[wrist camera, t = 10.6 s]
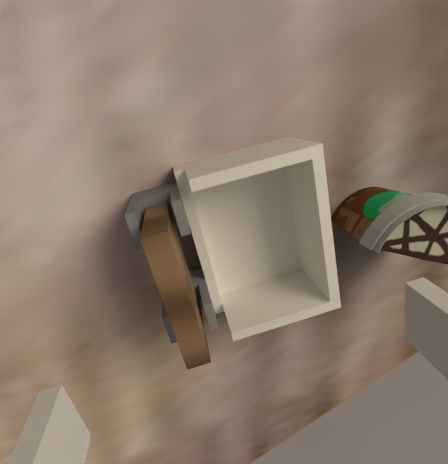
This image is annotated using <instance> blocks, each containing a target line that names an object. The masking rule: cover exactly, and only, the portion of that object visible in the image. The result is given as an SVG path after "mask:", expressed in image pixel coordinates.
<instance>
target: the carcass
mask: <svg viewBox="0 0 448 464" xmlns="http://www.w3.org/2000/svg"><path fill="white" fill-rule="evenodd" d="M173 171H174V175H175V178H176V182H174V183H171V184H167V185H163V186H160V187H156V188H152V189H149V190H145V191H141V192H137V193H134V194H132V197H131V199H130V202H129V204H128V207H127V209H126V212H125V214H124V217H125V220H126V223H127V225H128V228H129V231H130V233H131V236H132V239H133V241H134V244H135V247H136V249H140V248H143V247H142V244H141V241H140V236H141V231H142V226H143V221H144V216H145V210H146V208H147V207H150V206H154V205H158V204H161V203H165V202H168V206H169V209H170V212H171V215H172V218H173V221H174V223H176V222H177V224H178V227H179V230H180V234H181V237H182V236H185V235H189V234H191V233H190V229H191V232H192V236H193V239H194V242H195V246H196V249H197V253H198V256H199V259H200V263H201V266H202V267H200V268H196V269H193V270H189V272H190V276H191V279H192V282H193V285H194V288H195V292H196V295H197V298H198V301H199V304H200V307H201V309H203V308H204V311H205V314H206V317H207V321H208V324H209V327H210V330H211V331H213V330H217V329H219V327H218V323H217V319H216V315H215V314H218V313H221V312H225V315H226V318H227V321H228V325H229V328H230V331H231V335H232V338H233V341H236V340H239V339H242V338H246V337H249V336H252V335H255V334H258V333H261V332H265V331H268V330H271V329H274V328H277V327H281V326H284V325H287V324H290V323H293V322H296V321H300V320H303V319H306V318H309V317H312V316H315V315H319V314H322V313H325V312H328V311H331V310H334V309H338V308H341V302H340V294H339V285H338V276H337V267H336V258H335V249H334V241H333V232H332V223H331V214H330V205H329V196H328V188H327V179H326V170H325V161H324V152H323V143H317V142H312V141H306V140H301V139H296V138H290V137H284V138H281V139H277V140H273V141H269V142H266V143H262V144H258V145H255V146H251V147H247V148H243V149H240V150H236V151H232V152H228V153H225V154H221V155H217V156H213V157H210V158H206V159H202V160H198V161H195V162H191V163H187V164H183V165H180V166H176V167H173ZM188 222H189V224H188ZM189 226H190V228H189ZM214 310H215V311H214ZM162 319H163V321H164V324H165V327H166V329H167V332H168V335H169V337H170V340H171V343H175V342H177V340H176V337H175V334H174V331H173V329H172V326H171V323H170V321H169V318H168V315H167V312H166V310H165V307H164V304H163V301H162Z"/></svg>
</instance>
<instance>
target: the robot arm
mask: <svg viewBox="0 0 448 464" xmlns="http://www.w3.org/2000/svg"><path fill="white" fill-rule="evenodd" d="M405 339H406V340H407V341H408V342H409V343H410V344H411V345H412V346H413V347H414V348H415V349H417V350H418V351H419V352H420V353H421V354H422V355H423V356H424V357H425V358H426V359H427V360H428V361H429V362H430V363H431V364H432V365H433V366H434V367H435V368H436V369H437V370H438V371H439V372H440V373H441V374H442V375H443V376H445V378H446V379H447V380H448V293H446V292H445V291H443V290H442V289H440V288H439V287H437V286H436V285H434V284H433V283H431V282H430V281H428V280H427V279H425V278H424V277H423V278H420V279H416V280H413V281H410V282H406V283H405ZM90 438H91V434H90V433H89V431H88V429H87V427H86V426H85V424H84V422H83V421H82V419H81V417H80V415H79V414H78V412H77V410H76V408H75V407H74V405H73V403H72V402H71V400H70V398H69V396H68V395H67V393H66V391H65V389H64V388H63V386H62V385H59V386H55V387H52V388H48V389H45V390H42V391H40V392H39V394H38V396H37V399H36V401H35V403H34V405H33V408H32V410H31V412H30V415H29V417H28V419H27V421H26V424H25V426H24V428H23V431H22V433H21V435H20V438H19V440H18V442H17V444H16V447H15V449H14V451H13V454H12V456H11V458H10V460H9V463H8V464H85V460H86V456H87V451H88V447H89V442H90Z"/></svg>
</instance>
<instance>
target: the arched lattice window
mask: <svg viewBox="0 0 448 464" xmlns="http://www.w3.org/2000/svg"><path fill="white" fill-rule="evenodd" d="M331 220H332V221H333V222H334V223H336V224H337V225H339V226H340V227H341V228H343V229H344V230H345V231H347V232H348V233H350V234H351V235H352V236H354V237H355V238H356V239H358V240H359V241H360V242H359V244H361V245H363V246H364V247H366V248H368V249H370V250H373V251H374V252H376V253H379V251H380V250H381V251H389V252H393V253H398V254H402V255H406V256H411V257H415V258H419V259H423V260H427V261H433V262H439V263H444V264H448V196H446V195H444V194H440V193H434V192H432V193H419V194H414V195H412V194H407V193H403V192H398V191H394V190H389V189H385V188H380V187H369V188H364V189H361V190H358V191H357V192H355V193H353V194H351V195H350V196H349V197H347V198H346V199H345V200H344V201H343V202H342V203H341V204H340V206H339V207H338V208H337V210H336V211H335V213H334V215H333V217H332V219H331Z"/></svg>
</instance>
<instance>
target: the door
mask: <svg viewBox="0 0 448 464" xmlns="http://www.w3.org/2000/svg"><path fill="white" fill-rule="evenodd" d="M140 241H141V244H142V247H143V249H144V252H145V255H146V258H147V260H148V263H149V266H150V268H151V271H152V274H153V277H154V279H155V282H156V285H157V288H158V290H159V293H160V296H161V299H162V301H163V304H164V307H165V310H166V312H167V315H168V318H169V321H170V323H171V326H172V329H173V331H174V334H175V337H176V340H177V342H178V345H179V348H180V351H181V353H182V356H183V359H184V362H185V364H186V367H187V370H188V369H191V368H194V367H197V366H200V365H203V364H206V363H210V362H211V360H210V355H209V350H208V344H207V339H206V334H205V328H204V323H203V318H202V312H201V307H200V304H199V301H198V298H197V295H196V292H195V288H194V285H193V282H192V279H191V276H190V272H189V269H188V266H187V263H186V260H185V256H184V253H183V250H182V247H181V244H180V241H179V237H178V234H177V231H176V228H175V225H174V221H173V218H172V215H171V212H170V209H169V206H168V202H165V203H161V204H158V205H154V206H150V207H147V208H146V210H145V216H144V221H143V226H142V231H141V236H140Z"/></svg>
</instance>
